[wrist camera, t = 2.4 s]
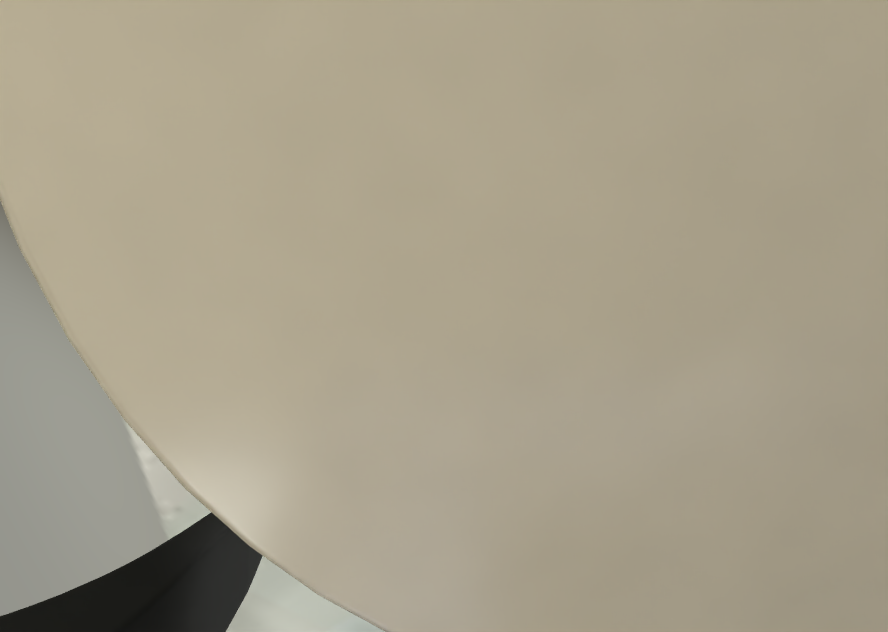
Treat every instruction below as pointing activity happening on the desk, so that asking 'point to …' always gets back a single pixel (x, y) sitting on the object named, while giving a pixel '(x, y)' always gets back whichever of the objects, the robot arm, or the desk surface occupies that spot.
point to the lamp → (485, 292)
